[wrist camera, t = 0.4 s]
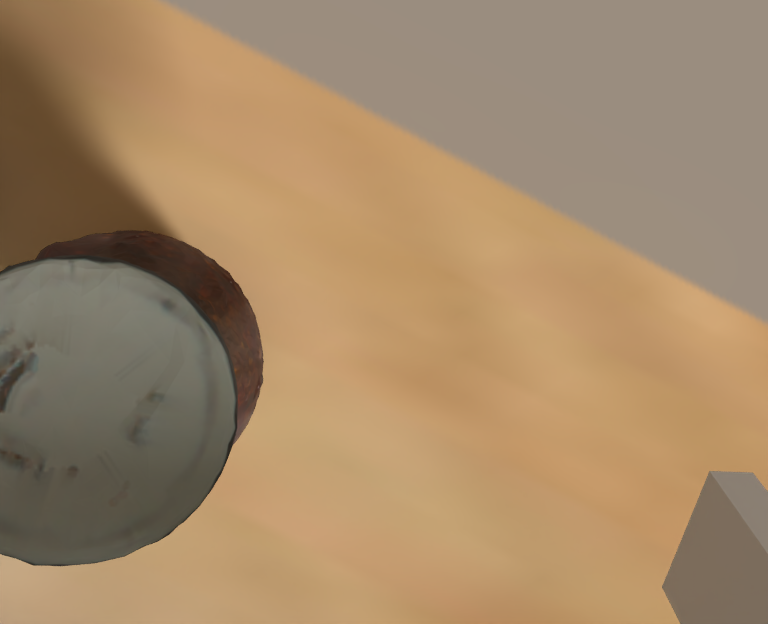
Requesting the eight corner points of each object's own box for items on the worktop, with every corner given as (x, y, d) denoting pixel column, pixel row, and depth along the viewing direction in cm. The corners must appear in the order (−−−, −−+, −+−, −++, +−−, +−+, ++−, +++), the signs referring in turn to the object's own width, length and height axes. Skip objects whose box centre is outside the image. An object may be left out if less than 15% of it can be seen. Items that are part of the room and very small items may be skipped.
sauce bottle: (39, 314, 27) (-391, 296, 8) (183, 229, 28) (118, 31, 9) (137, 454, 28) (-33, 756, 9) (273, 365, 29) (391, 452, 10)
